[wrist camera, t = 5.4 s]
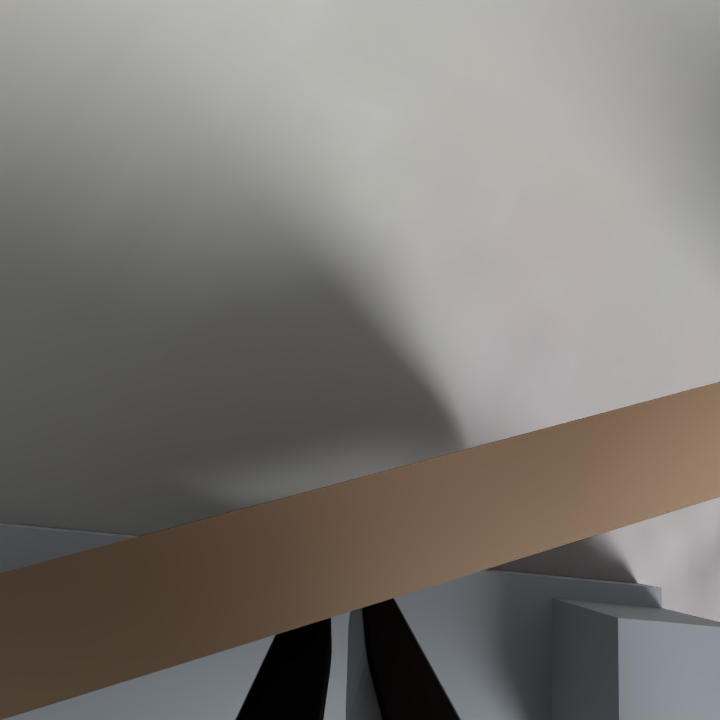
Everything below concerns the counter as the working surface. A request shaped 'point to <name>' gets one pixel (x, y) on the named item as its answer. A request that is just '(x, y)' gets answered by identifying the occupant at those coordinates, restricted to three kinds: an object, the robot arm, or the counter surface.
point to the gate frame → (452, 650)
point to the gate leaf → (345, 547)
